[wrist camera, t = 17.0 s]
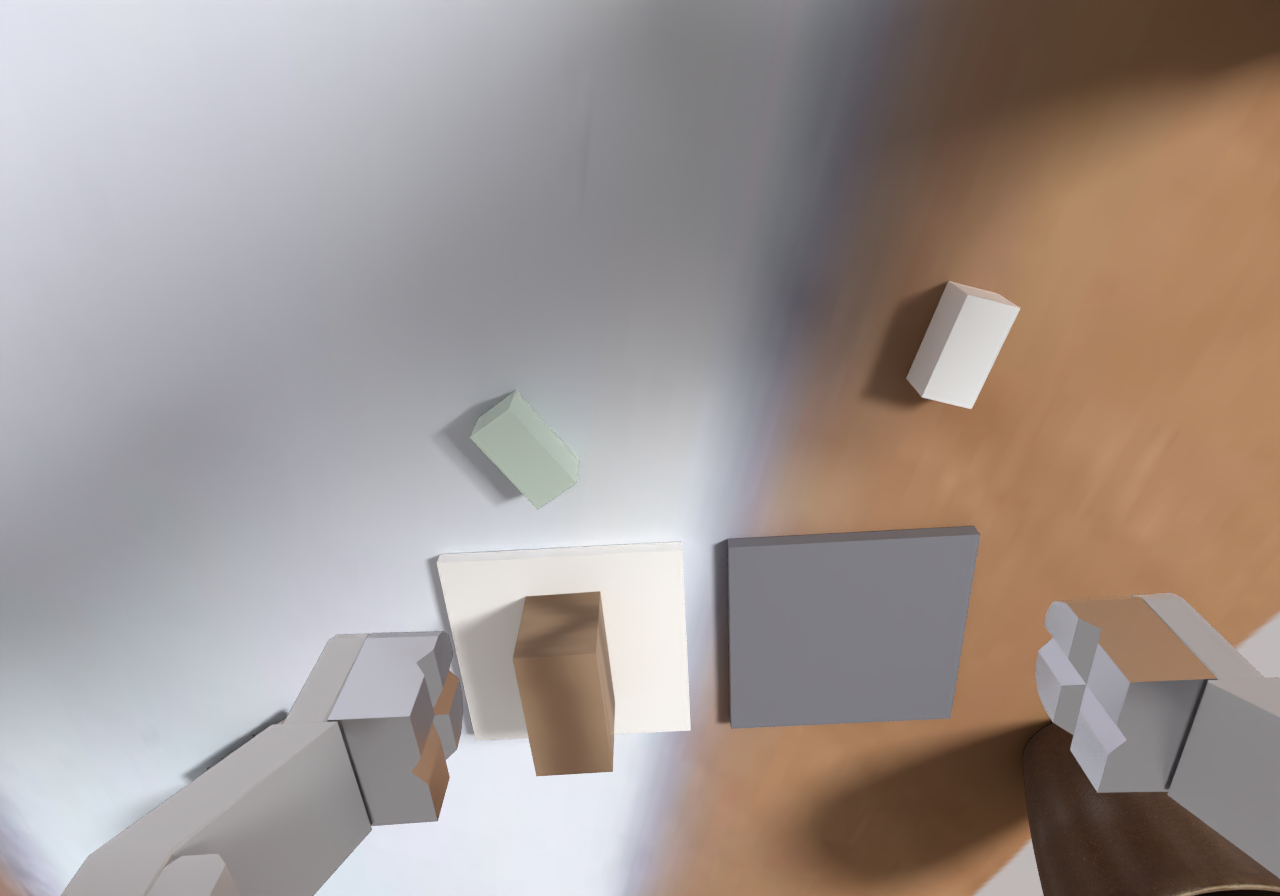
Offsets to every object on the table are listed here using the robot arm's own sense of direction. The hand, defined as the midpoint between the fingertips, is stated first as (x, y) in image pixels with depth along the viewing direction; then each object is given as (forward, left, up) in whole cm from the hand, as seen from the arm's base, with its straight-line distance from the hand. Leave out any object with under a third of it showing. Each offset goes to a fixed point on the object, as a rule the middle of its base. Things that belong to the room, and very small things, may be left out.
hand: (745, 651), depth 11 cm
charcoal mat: (-11, +29, -34) cm, 46 cm away
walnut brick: (+8, +29, -33) cm, 45 cm away
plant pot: (-29, +42, -34) cm, 62 cm away
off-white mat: (+8, +29, -34) cm, 45 cm away
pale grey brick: (-16, +8, -34) cm, 39 cm away
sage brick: (+9, +13, -34) cm, 38 cm away
